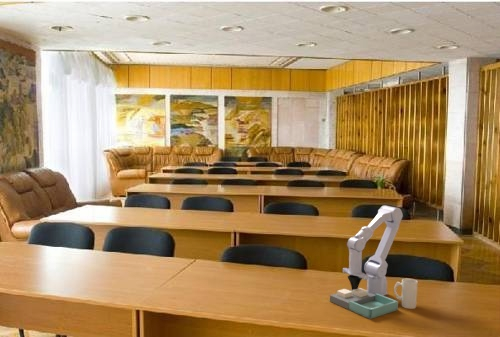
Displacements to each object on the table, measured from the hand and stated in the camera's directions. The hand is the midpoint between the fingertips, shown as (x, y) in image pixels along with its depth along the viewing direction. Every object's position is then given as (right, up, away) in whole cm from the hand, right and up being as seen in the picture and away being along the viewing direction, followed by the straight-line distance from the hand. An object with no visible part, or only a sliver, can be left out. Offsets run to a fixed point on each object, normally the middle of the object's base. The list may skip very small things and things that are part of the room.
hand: (354, 290), depth 226 cm
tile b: (-6, -1, -4) cm, 7 cm away
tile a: (+2, -1, -3) cm, 4 cm away
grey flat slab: (-2, -4, -4) cm, 6 cm away
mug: (+21, -5, -9) cm, 23 cm away
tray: (+5, -5, -14) cm, 16 cm away
